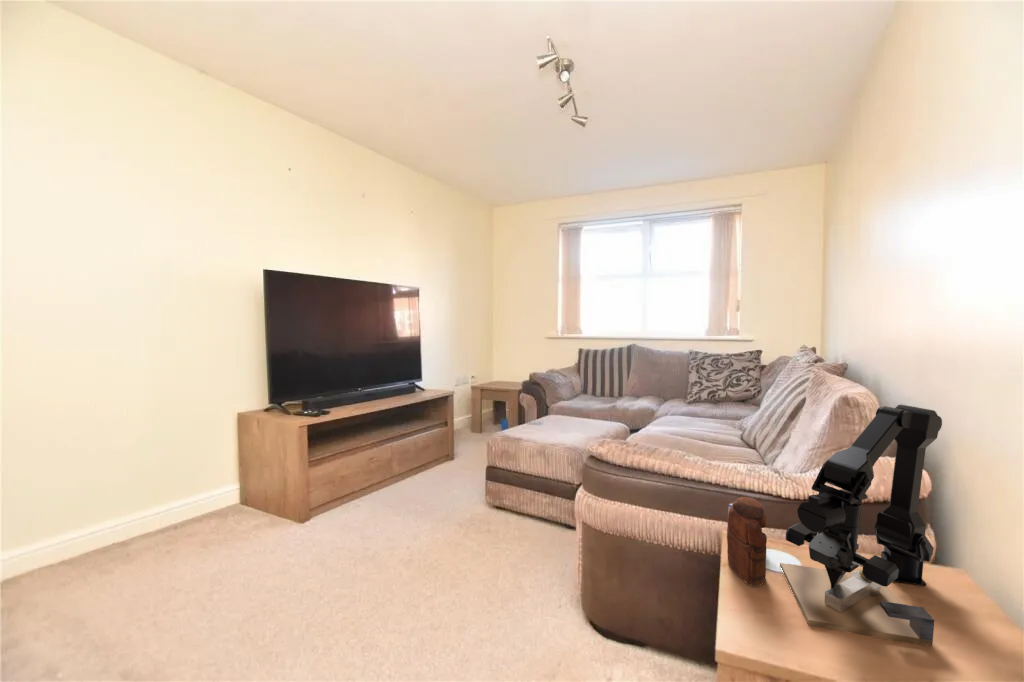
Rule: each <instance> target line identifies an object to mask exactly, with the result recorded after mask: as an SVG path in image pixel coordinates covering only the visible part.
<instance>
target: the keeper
mask: <svg viewBox="0 0 1024 682" xmlns="http://www.w3.org/2000/svg"><path fill="white" fill-rule="evenodd" d="M880 606H881V607H882V608H883V610H884V611H885V612H886V614H887V615H888V616H889V617H894V618H900V619H906V620H910V622H909V626H910V627H911V628H912V630H913V631H914V632H915V633H916V635H917V636H918V637H919V638H920V639H924V640H926V641H927V640H931V641H933V642H934V631H935V630H934V629H935V618H933V616H932V615H931V614H930V613H929V612H928V611H927V610H926V609H925V608H924V607H923V606H915V605H909V604H903V603H902V604H898V603H891V602H885V601H880ZM926 641H925V642H926ZM931 641H929V642H931ZM929 642H928V644H929ZM923 643H924V642H923ZM923 643H922V644H923ZM924 644H925V643H924ZM933 644H934V643H932V645H933ZM925 646H926V645H925ZM925 646H924V647H925ZM926 647H927V646H926Z"/></svg>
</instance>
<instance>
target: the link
mask: <svg viewBox="0 0 1024 682" xmlns="http://www.w3.org/2000/svg"><path fill="white" fill-rule="evenodd" d="M859 570H860V569H859ZM859 570H853V571H852V573H853V577H851V578H849V579H847V580H846V581H844V582H842V583H840V584H838V585H836V586H834V587H833V588H831V589H829V590H827V591H825V602H824V603H825V604H826V605H828V606H830V607H832V608H834V609H835V610H837V611H839V612H842V611H843V610H845V609H847V608H848V607H850V606H852V605H853V604H855V603H857V602H859V601H860V600H862V599H864V598H865V597H867V596H869V595H872V596H877V595H879V594H880V588H881V585H879V584H877V583H875V582H873V581H871V580H869V579H866V578H864V577H862V576H860V574H859Z"/></svg>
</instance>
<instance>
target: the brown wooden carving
mask: <svg viewBox="0 0 1024 682" xmlns="http://www.w3.org/2000/svg"><path fill="white" fill-rule="evenodd" d="M731 504H732V505H731V507H730V509H729V513H728V512H727V524H728V529H727V528H726V539H727V543H726V544H727V563H728V564H729V566H730V567H731V568H732V569H733V571H735V572H736V574H738V575H739V577H740V578H741V579H742V580H743V581H744V582H747V583H746V584H747V585H749V586H751V585H752V587H759V586H760V584H761V585H763V584H764V583H765V580H766V574H767V564H766V563H767V540H768V537H767V535H766V533H765V532H763V529H764V528H765V527H766V526H767V522H766V521H767V516H766V514H765V509H764V506H763V505H762V503H760V501H758V500H757V499H756V498H753V497H749V496H741V497H738V498H736V499H735V500H733V502H732V503H731ZM727 531H728V532H727ZM762 583H763V584H762ZM758 585H759V586H758Z"/></svg>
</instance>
